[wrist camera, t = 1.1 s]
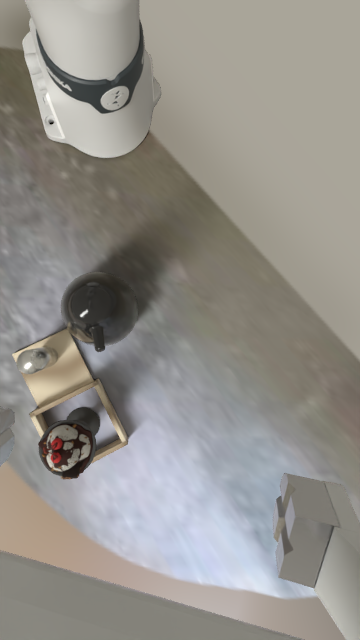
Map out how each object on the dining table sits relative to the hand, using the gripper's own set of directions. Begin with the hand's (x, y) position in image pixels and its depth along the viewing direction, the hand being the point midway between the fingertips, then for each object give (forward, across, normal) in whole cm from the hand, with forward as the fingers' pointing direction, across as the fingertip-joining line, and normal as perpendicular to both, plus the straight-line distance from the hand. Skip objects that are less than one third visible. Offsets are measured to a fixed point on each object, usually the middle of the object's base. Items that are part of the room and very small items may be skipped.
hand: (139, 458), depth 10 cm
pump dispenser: (+39, +16, +7) cm, 43 cm away
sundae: (+34, +16, +23) cm, 44 cm away
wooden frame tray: (+34, +19, +19) cm, 44 cm away
